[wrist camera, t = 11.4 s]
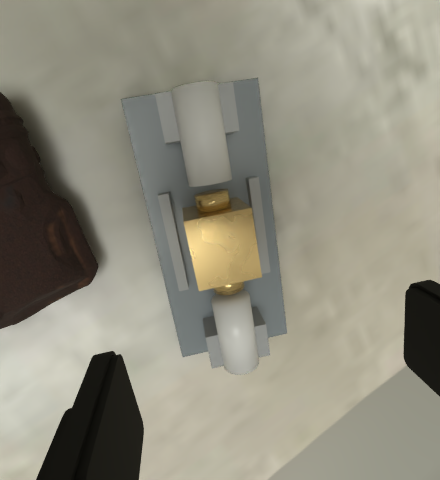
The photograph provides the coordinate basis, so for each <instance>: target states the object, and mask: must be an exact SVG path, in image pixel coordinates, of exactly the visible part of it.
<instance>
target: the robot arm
mask: <svg viewBox="0 0 440 480" xmlns="http://www.w3.org/2000/svg"><path fill="white" fill-rule="evenodd" d="M404 360H405V362H406V364H407V366H408V367H409V368H410V369H411V370H412V371H413V372H414V373H415V374H416V375H417V376H418V377H420V378H421V379H422V380H423V381H424V382H425V383H426V384H427V385H428V386H429V387H430V388H431V389H432V390H433V391H434V392H436V393H437V394H438V395H439V396H440V284H438V283H436V282H434V281H432V280H426V281H421V282H417V283H413V284H411V285H410V286H409V289H408V290H407V291H406V295H405V328H404ZM143 435H144V428H143V421H142V418H141V414H140V411H139V408H138V405H137V402H136V399H135V395H134V392H133V389H132V386H131V383H130V380H129V376H128V373H127V370H126V367H125V364H124V361H123V358H122V356H121V355H120V354H119V355H116V354H115V353H114V351H110V352H106V353H101V354H97V355H94V356H93V357H92V359H91V361H90V364H89V367H88V369H87V372H86V374H85V377H84V379H83V382H82V384H81V387H80V389H79V392H78V394H77V397H76V399H75V402H74V405H73V407H72V408H70V409H68V410H67V411H65V413H64V415H63V417H62V419H61V421H60V424H59V426H58V429H57V431H56V433H55V436H54V438H53V441H52V443H51V445H50V448H49V450H48V453H47V455H46V457H45V460H44V462H43V464H42V467H41V469H40V472H39V474H38V476H37V479H36V480H139V472H140V463H141V454H142V444H143Z"/></svg>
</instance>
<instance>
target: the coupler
mask: <svg viewBox="0 0 440 480" xmlns="http://www.w3.org/2000/svg"><path fill="white" fill-rule="evenodd" d="M194 197H195V202H196V205H195V206H190V207H186V208H182V211H183V222H184V226H185V231H186V235H187V240H188V244H189V249H190V253H191V258H192V262H193V267H194V271H195V276H196V280H197V285H198V289H199V291H203V290H207V289H212V288H213V290H214V292H215V293H216V294H218V295H231V294H235V293H238V292H239V291H241V290H242V289H243V288H244V281H247V280H252V279H256V278H261V277H262V273H261V267H260V260H259V253H258V247H257V240H256V234H255V227H254V220H253V214H252V208H251V207H250V206H249V205H247V204H246V203H245V202H243V201H242V200H241V199H239V198H238V197H235V198H230V197H229V192H228V189H215V190H209V191H205V192H201V193H198V194H196V195H194Z"/></svg>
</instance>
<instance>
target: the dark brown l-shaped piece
mask: <svg viewBox="0 0 440 480" xmlns="http://www.w3.org/2000/svg"><path fill="white" fill-rule="evenodd" d="M22 123H23V120H22V118H21V117H19V116H18V115H17V114H16V113H15V111H14V109H13V107H12V105H11V103H10V102H9V100H8V99H7V98H6V97H5V96H4V95H3V94H2V93H0V329H2V328H5V327H7V326H10V325H14V324H17V323H19V322H21V321H23V320H25V319H27V318H28V317H30V316H32V315H34V314H35V313H37V312H39V311H40V310H42V309H43V308H45V307H47V306H48V305H50V304H51V303H53V302H55V301H57V300H59V299H61V298H63V297H65V296H67V295H69V294H71V293H72V292H74V291H76V290H78V289H81V288H83V287H85V286H87V285H89V284H90V283H91V282H92V280H93V278H94V277H95V275H96V272H97V269H98V263H97V261H96V259H95V257H94V255H93V253H92V251H91V249H90V247H89V244H88V242H87V240H86V238H85V236H84V234H83V232H82V230H81V228H80V225H79V223H78V220H77V218H76V216H75V213H74V211H73V208H72V206H71V205H70V204H69V203H68V201H67V200H66V199H64V198H62V197H60V196H58V195H56V194H55V193H53V192H52V190H51V188H50V187H49V185H48V184H47V182H46V179H45V177H44V170H43V169H42V167H41V165H40V164H39V163H40V157H39V155H38V153H37V151H36V149H35V148H34V147H33V146H31V144H30V142H29V139H28V131H27V130H26V129H25V128H24V127H23V125H22Z"/></svg>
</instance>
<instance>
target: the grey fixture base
mask: <svg viewBox="0 0 440 480" xmlns="http://www.w3.org/2000/svg"><path fill="white" fill-rule="evenodd" d="M121 101H122V105H123V110H124V114H125V118H126V122H127V126H128V130H129V135H130V139H131V143H132V147H133V151H134V156H135V160H136V164H137V168H138V172H139V176H140V181H141V185H142V189H143V193H144V197H145V202H146V206H147V210H148V214H149V218H150V222H151V227H152V231H153V235H154V239H155V243H156V248H157V252H158V256H159V260H160V264H161V269H162V273H163V277H164V281H165V285H166V289H167V294H168V298H169V302H170V306H171V310H172V315H173V319H174V323H175V327H176V331H177V335H178V340H179V344H180V348H181V352H182V356H183V357H185V356H190V355H194V354H198V353H203V352H207V351H208V352H209V357H210V362H211V366H212V368H216V367H221V366H224V368H225V369H226V371H228V372H229V373H231V374H235V375H243V374H247V373H250V372H252V371H253V370H255V369H256V368H257V366H258V364H259V357H264V356H268V355H270V350H269V342H268V338H269V337H273V336H278V335H282V334H286V333H287V328H286V319H285V311H284V302H283V293H282V284H281V276H280V267H279V258H278V249H277V241H276V232H275V223H274V214H273V206H272V197H271V188H270V179H269V171H268V162H267V153H266V144H265V135H264V127H263V118H262V109H261V100H260V92H259V83H258V78H254V79H247V80H241V81H234V82H233V81H232V82H225V83H219V84H218V83H217V82H215V81H200V82H193V83H188V84H184V85H180V86H177V87H175V88H173V89H172V90H171V91H167V92H161V93H155V94H150V95H144V96H138V97H131V98H125V99H121ZM215 189H228V192H229V197H230V198H235V197H238V198H239V199H241V200H242V201H243V202H245V203H246V204H247V205H249V206H250V207H251V208H252V214H253V220H254V227H255V234H256V240H257V247H258V253H259V260H260V267H261V273H262V277H261V278H256V279H252V280H247V281H244V288H243V289H242V290H241V291H239V292H238V293H235V294H231V295H218V294H216V293H215V292H214V290H213V288H212V289H207V290H203V291H199V289H198V285H197V280H196V276H195V271H194V267H193V262H192V258H191V253H190V249H189V244H188V240H187V235H186V231H185V226H184V222H183V211H182V208H186V207H190V206H195V205H196V202H195V197H194V195H196V194H198V193H201V192H205V191H209V190H215Z"/></svg>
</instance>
